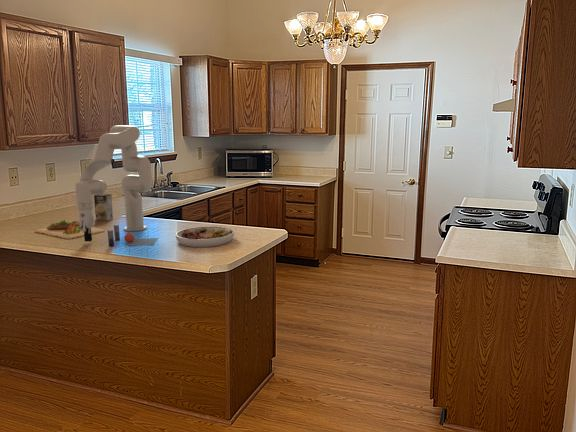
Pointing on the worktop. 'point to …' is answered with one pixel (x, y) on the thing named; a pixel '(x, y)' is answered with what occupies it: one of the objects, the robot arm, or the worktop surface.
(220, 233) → the bowl
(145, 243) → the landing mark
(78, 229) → the wooden food tray
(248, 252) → the worktop surface
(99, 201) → the coffee box
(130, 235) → the ball
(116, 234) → the post
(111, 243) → the post
